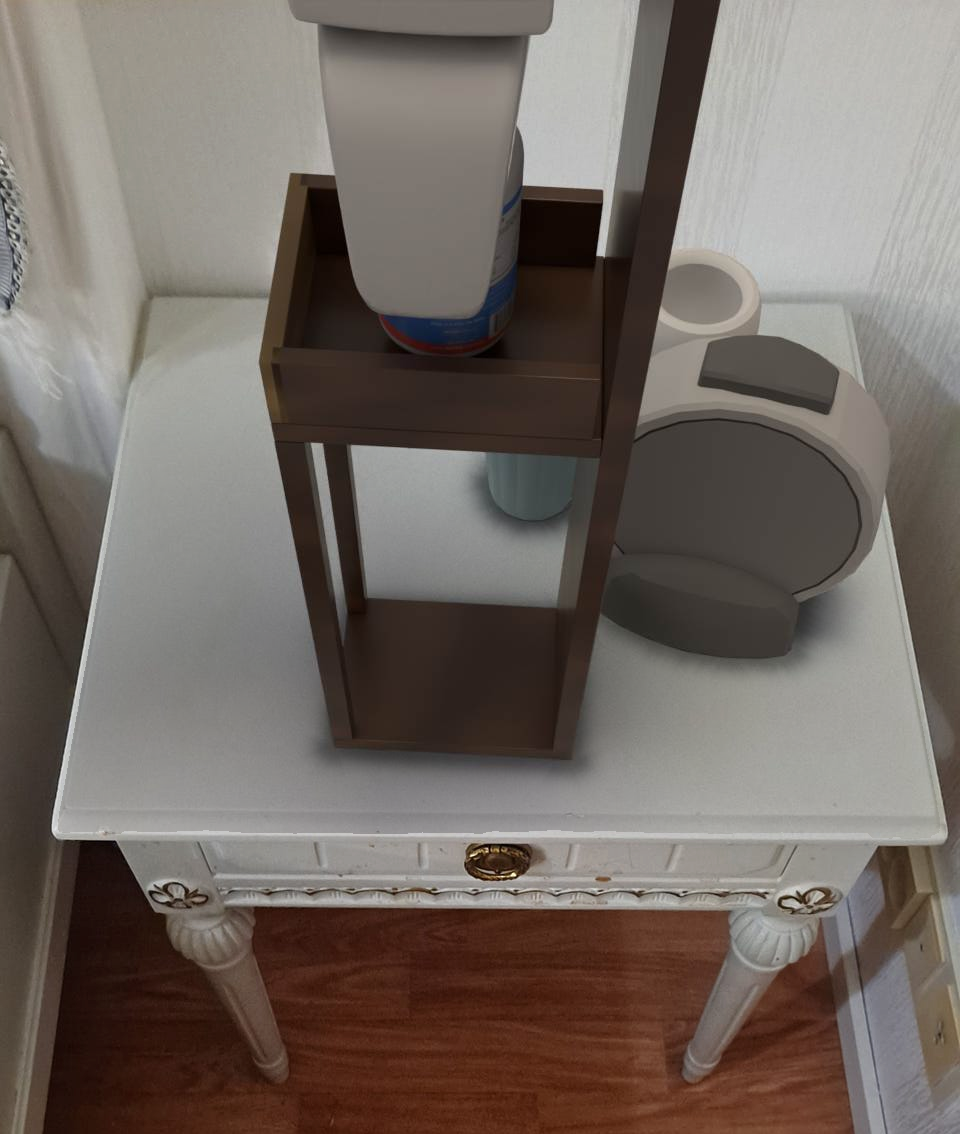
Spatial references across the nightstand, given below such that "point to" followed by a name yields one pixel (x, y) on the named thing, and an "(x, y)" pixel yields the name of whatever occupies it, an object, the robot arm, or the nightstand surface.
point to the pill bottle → (499, 302)
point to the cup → (530, 483)
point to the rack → (483, 425)
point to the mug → (706, 299)
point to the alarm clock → (743, 494)
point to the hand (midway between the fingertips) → (443, 233)
